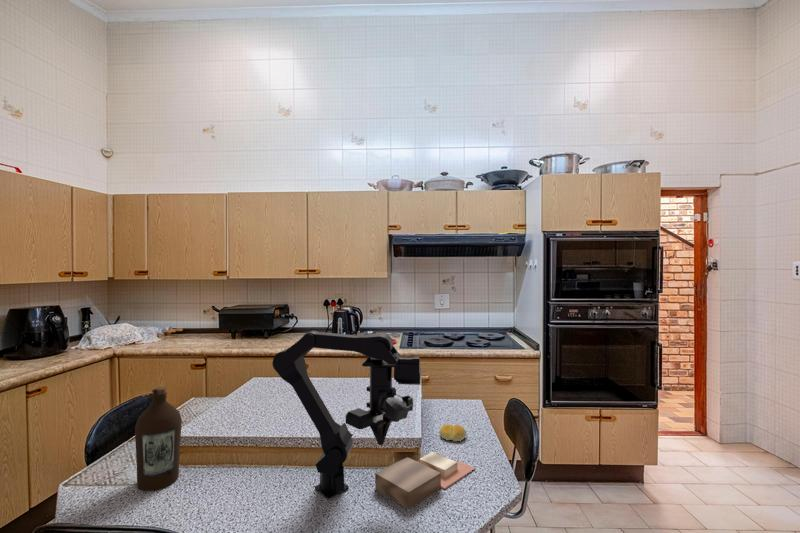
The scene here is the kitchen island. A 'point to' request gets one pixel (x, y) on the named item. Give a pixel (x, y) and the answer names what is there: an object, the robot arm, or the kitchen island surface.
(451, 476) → the mat
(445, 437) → the bread roll
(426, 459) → the cream rectangular block
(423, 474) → the panel
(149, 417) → the olive oil
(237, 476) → the kitchen island surface
